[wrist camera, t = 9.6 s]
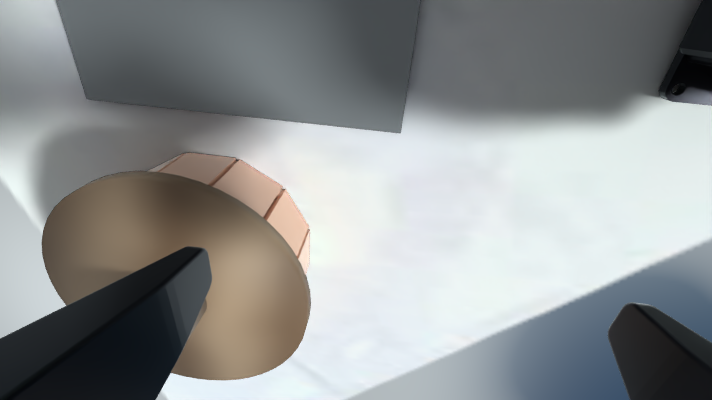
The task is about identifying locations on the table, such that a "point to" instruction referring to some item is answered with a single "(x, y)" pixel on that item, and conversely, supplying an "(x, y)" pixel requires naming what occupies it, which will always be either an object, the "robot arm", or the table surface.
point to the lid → (171, 233)
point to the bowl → (247, 194)
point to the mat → (249, 57)
